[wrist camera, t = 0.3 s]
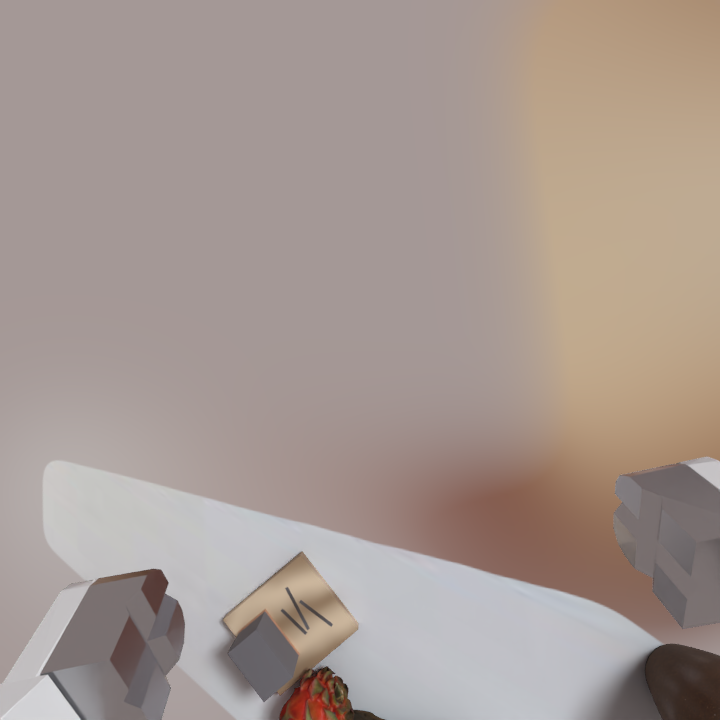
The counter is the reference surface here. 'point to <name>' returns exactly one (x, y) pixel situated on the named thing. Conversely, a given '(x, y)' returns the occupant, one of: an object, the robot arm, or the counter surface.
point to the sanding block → (264, 655)
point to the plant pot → (684, 682)
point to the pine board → (299, 613)
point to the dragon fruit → (319, 698)
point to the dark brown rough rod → (364, 715)
